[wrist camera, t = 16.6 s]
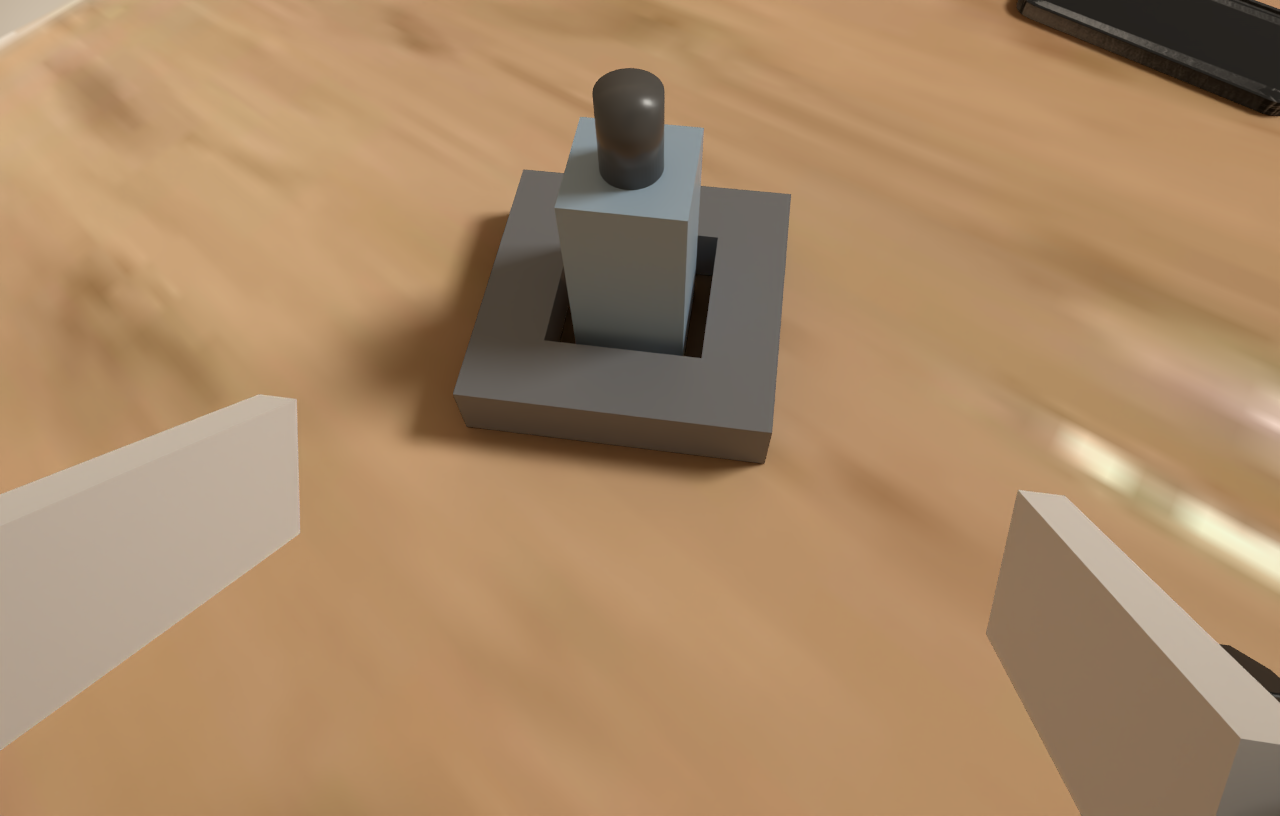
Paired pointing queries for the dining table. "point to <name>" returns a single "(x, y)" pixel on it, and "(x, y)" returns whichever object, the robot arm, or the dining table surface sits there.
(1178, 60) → the phone
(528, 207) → the frame
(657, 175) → the connector plug
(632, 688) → the dining table surface
